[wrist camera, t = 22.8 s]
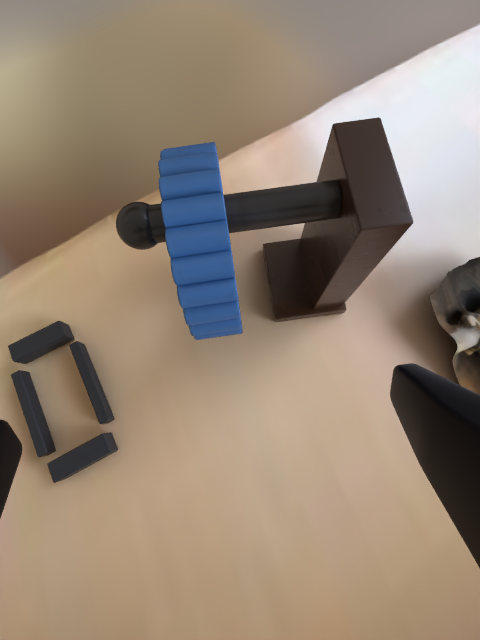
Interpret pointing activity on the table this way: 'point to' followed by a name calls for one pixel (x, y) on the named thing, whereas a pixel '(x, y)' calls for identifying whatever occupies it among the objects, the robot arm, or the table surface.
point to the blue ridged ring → (199, 240)
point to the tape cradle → (33, 412)
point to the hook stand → (313, 223)
